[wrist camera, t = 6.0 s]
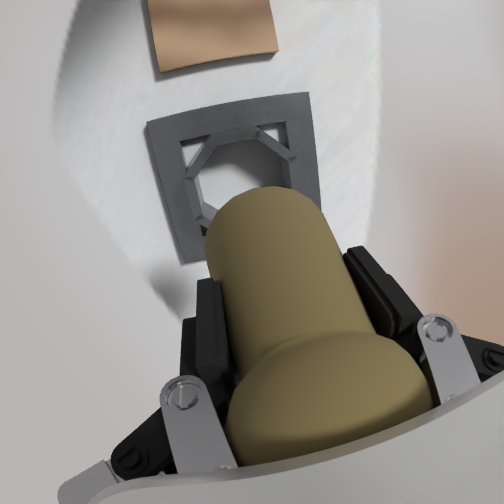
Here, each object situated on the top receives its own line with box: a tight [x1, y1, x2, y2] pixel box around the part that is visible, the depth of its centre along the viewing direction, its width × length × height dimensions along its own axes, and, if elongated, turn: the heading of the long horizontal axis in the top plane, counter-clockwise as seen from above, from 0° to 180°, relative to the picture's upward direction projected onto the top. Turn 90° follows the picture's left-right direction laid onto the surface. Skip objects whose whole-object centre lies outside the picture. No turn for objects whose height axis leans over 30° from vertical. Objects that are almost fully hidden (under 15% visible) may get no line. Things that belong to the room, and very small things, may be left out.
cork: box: [204, 186, 434, 467], centre depth 10 cm, size 6×6×11 cm
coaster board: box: [147, 0, 279, 73], centre depth 19 cm, size 10×10×1 cm
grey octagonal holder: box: [146, 92, 321, 263], centre depth 26 cm, size 14×14×4 cm
